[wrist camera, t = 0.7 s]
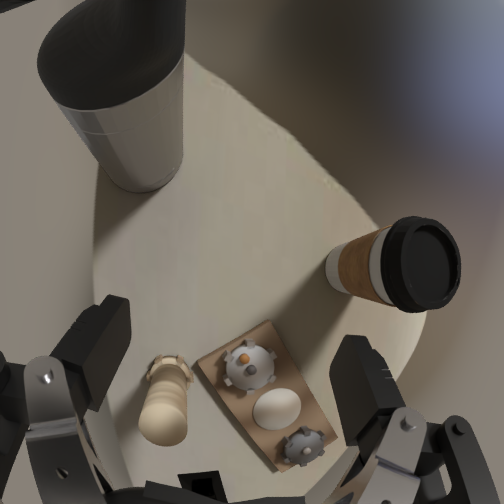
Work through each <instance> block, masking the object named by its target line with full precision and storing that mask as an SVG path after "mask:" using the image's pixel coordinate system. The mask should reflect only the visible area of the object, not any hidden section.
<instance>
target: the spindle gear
mask: <svg viewBox="0 0 504 504" xmlns="http://www.w3.org/2000/svg"><path fill="white" fill-rule="evenodd" d="M154 362H155V363H154V364H153V366H152V369H151V371H148V373H147V381H150V387H149V390H148V393H147V396H146V399H145V402H144V405H143V408H142V412H141V415H140V418H139V423H138V425H139V429H140V432H141V433H142V435H143V436H144V437H145V438H146V439H147V440H148V441H150V442H151V443H153V444H156V445H159V446H174V445H177V444H179V443H180V442H182V441H183V440H184V439H185V437H186V435H187V390H188V388H189V386H190V382H191V383H194V381H193V372H190V370H189V367H188V366H187V364H186V363H185V362H184V358H183V357H181V356H180V355H178V356H177V357H175V356H164V357H163V356H162V355H159V356H157V357H156V358H155V361H154Z"/></svg>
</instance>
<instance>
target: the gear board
mask: <svg viewBox="0 0 504 504" xmlns="http://www.w3.org/2000/svg"><path fill="white" fill-rule="evenodd" d="M197 361H198V364H199V366H200V367H201V369H202V370H203V372H204V373H205V375H206V376H207V378H208V379H209V381H210V382H211V384H212V385H213V387H214V388H215V389H216V391H217V392H218V394H219V395H220V396H221V398H222V399H223V401H224V402H225V403H226V405H227V406H228V407H229V409H230V410H231V412H232V413H233V414H234V416H235V417H236V418H237V419H238V421H239V422H240V423H241V425H242V426H243V427H244V429H245V430H246V431H247V432H248V434H249V435H250V436H251V437H252V439H253V440H254V441H255V442H256V444H257V445H258V446H259V447H260V448H261V450H262V451H263V452H264V453H265V454H266V456H267V457H268V458H269V459H270V460H271V461H272V463H273V464H274V465H275V466H276V467H277V468H278V470H279V471H280V472H281V473H283V472H284V471H286V470H288V469H290V468H291V467H293V466H295V465H297V464H299V465H300V466H301V467H303V466H307V463H308V462H310V461H312V460H314V459H315V458H317V457H318V456H322V455H323V454H324V453H325V451H324V450H323V448H324V447H325V446H327V445H328V444H330V443H331V442H333V441H334V440H336V439H337V438H338V436H337V435H336V433H335V431H334V430H333V428H332V426H331V425H330V423H329V421H328V420H327V418H326V416H325V415H324V413H323V411H322V410H321V408H320V406H319V404H318V403H317V401H316V399H315V398H314V396H313V394H312V393H311V391H310V389H309V387H308V386H307V384H306V382H305V381H304V379H303V377H302V375H301V374H300V372H299V370H298V368H297V367H296V365H295V363H294V362H293V360H292V358H291V356H290V355H289V353H288V351H287V349H286V348H285V346H284V344H283V342H282V341H281V339H280V337H279V335H278V334H277V332H276V330H275V328H274V327H273V325H272V323H271V321H269V320H268V319H267V320H266V321H264V322H262V323H261V324H259V325H257V326H256V327H254V328H252V329H251V330H249V331H247V332H246V333H244V334H242V335H241V336H239V337H237V338H236V339H234V340H232V341H230V342H229V343H227V344H225V345H223V346H222V347H220V348H218V349H216V350H215V351H213V352H211V353H209V354H207V355H206V356H204V357H202V358H200V359H198V360H197Z"/></svg>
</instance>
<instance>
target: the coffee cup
mask: <svg viewBox="0 0 504 504" xmlns="http://www.w3.org/2000/svg"><path fill="white" fill-rule="evenodd" d="M325 272H326V277H327V279H328V281H329V283H330V285H331V286H332V287H333V288H335V289H336V290H338V291H340V292H343V293H347V294H351V295H354V296H357V297H361V298H364V299H367V300H371V301H374V302H378V303H381V304H384V305H388V306H392V307H397V308H398V309H400V310H402V311H404V312H407V313H419V312H424V311H426V310H432V309H439V308H442V307H444V306H445V305H446V304H448V303H449V302H450V300H451V299H452V298H453V296H454V295H455V293H456V291H457V289H458V287H459V284H460V277H461V258H460V253H459V249H458V246H457V244H456V242H455V240H454V238H453V236H452V235H451V234H450V232H449V231H448V230H447V229H446V228H445V227H444V226H443V225H442V224H441V223H439V222H438V221H436V220H433V219H430V218H422V217H417V216H411V217H405V218H402V219H400V220H398V221H397V222H396V223H395V224H393V225H389V226H386V227H384V228H382V229H379V230H377V231H374V232H372V233H369V234H367V235H364V236H362V237H360V238H357V239H355V240H353V241H350V242H347V243H344V244H342V245H339V246H337V247H335V248H334V249H333V250H332V251H331V252H330V254H329V255H328V257H327V260H326V265H325Z"/></svg>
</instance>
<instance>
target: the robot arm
mask: <svg viewBox="0 0 504 504" xmlns="http://www.w3.org/2000/svg"><path fill="white" fill-rule="evenodd" d="M32 1H35V0H0V13H4V12H6V11H9V10H11V9H14V8H17V7H19V6H22V5H24V4H27V3H29V2H32ZM185 12H186V0H85V1H84V2H82V3H80V4H79V5H77V6H76V7H74V8H73V9H72V10H70V11H69V12H68V13H67V14H65V15H64V16H63V17H62V18H61V19H60V20H59V21H58V22H57V23H56V24H55V25H54V26H53V27H52V29H51V30H50V31H49V33H48V34H47V35H46V37H45V39H44V41H43V43H42V45H41V47H40V50H39V53H38V58H37V68H38V73H39V76H40V78H41V80H42V82H43V84H44V86H45V87H46V89H47V90H48V92H49V93H50V95H51V96H52V98H53V99H54V101H55V102H56V104H57V105H58V107H59V108H60V110H61V111H62V113H63V114H64V115H65V117H66V118H67V120H68V121H69V122H70V124H71V125H72V127H73V128H74V129H75V131H76V132H77V134H78V135H79V136H80V138H81V139H82V141H83V142H84V143H85V145H86V146H87V147H88V149H89V150H90V152H91V153H92V154H93V155H94V157H95V158H96V159H97V161H98V162H99V164H100V165H101V166H102V168H103V169H104V170H105V172H106V173H107V174H108V175H109V177H110V178H111V179H112V180H113V182H114V183H115V184H116V185H118V186H119V187H120V188H122V189H124V190H126V191H130V192H134V193H144V192H150V191H153V190H156V189H158V188H160V187H162V186H163V185H165V184H166V183H168V182H169V181H170V180H171V179H172V178H173V177H174V175H175V174H176V173H177V171H178V170H179V167H180V165H181V163H182V158H183V78H184V73H183V71H184V44H185V43H184V42H185ZM130 341H131V319H130V303H129V300H128V299H126V298H122V297H118V296H114V295H110V294H109V295H107V296H106V298H105V299H104V300H103V302H102V303H101V304H100V306H98V305H95V304H94V305H92V306H91V307H89V308H87V309H86V310H84V311H83V312H82V313H81V314H80V316H79V317H78V318H77V319H76V322H74V323H73V325H72V326H71V328H70V329H69V330H68V331H67V332H66V334H65V335H64V336H63V338H62V339H61V340H60V342H59V343H58V344H57V346H56V347H55V348H54V350H53V351H52V353H51V354H50V355H49V356H40V357H36V358H34V359H33V360H31V361H30V362H29V363H28V364H27V365H21V364H15V363H9V362H6V360H5V357H4V355H3V353H2V352H1V351H0V504H3V502H2V500H1V499H2V496H3V492H4V489H5V486H6V483H7V480H8V477H9V474H10V472H11V469H12V466H13V464H14V461H15V459H16V456H17V454H18V451H19V449H20V446H21V444H22V441H23V439H24V437H25V438H26V445H27V449H28V454H29V458H30V462H31V466H32V470H33V474H34V477H35V481H36V484H37V487H38V490H39V494H40V496H41V499H42V502H43V504H305V497H304V496H301V497H265V498H260V499H254V500H248V501H241V502H234V503H223V502H220V501H217V500H214V499H211V498H208V497H205V496H202V495H200V494H197V493H194V492H192V491H189V490H187V489H183V488H178V487H173V486H168V485H164V484H159V483H155V482H151V481H147V480H146V484H145V487H131V488H123V489H119V490H115V489H114V487H113V485H112V483H111V481H110V479H109V477H108V475H107V473H106V471H105V470H104V468H103V466H102V464H101V461H100V459H99V456H98V454H97V452H96V449H95V447H94V444H93V441H92V438H91V436H90V433H89V430H88V427H87V424H86V421H85V418H84V415H85V413H86V411H87V409H90V410H93V411H96V412H98V411H99V408H100V406H101V404H102V402H103V399H104V397H105V395H106V393H107V391H108V389H109V386H110V384H111V382H112V380H113V378H114V376H115V374H116V372H117V370H118V367H119V365H120V363H121V361H122V359H123V357H124V355H125V353H126V351H127V349H128V347H129V344H130ZM388 369H389V368H388V366H387V364H386V362H385V360H384V358H383V357H382V356H381V355H380V354H379V353H378V352H377V351H376V350H375V349H372V347H371V345H370V343H369V341H368V339H367V337H366V336H360V335H345V336H344V338H343V340H342V342H341V344H340V346H339V348H338V350H337V353H336V355H335V357H334V359H333V361H332V363H331V366H330V371H329V376H330V381H331V385H332V389H333V393H334V397H335V400H336V404H337V408H338V412H339V417H340V421H341V425H342V429H343V433H344V437H345V442H346V446H357V445H358V446H359V451H358V452H357V453H356V455H355V457H354V458H353V460H352V462H351V464H350V465H349V467H348V469H347V470H346V472H345V474H344V475H343V477H342V479H341V480H340V482H339V483H338V485H337V487H336V488H335V490H334V491H333V492H332V493H331V495H330V496H329V497H328V498H327V499H326V500H325V501H324V502H323V503H322V504H500V501H499V498H498V494H497V491H496V488H495V485H494V482H493V480H492V477H491V474H490V471H489V469H488V466H487V463H486V461H485V458H484V456H483V453H482V451H481V449H480V446H479V444H478V442H477V439H476V437H475V434H474V432H473V430H472V428H471V426H470V424H469V423H468V422H467V420H465V419H464V418H462V417H460V416H456V415H454V416H450V417H449V418H447V420H446V421H445V422H444V423H443V424H435V423H429V422H426V421H425V419H424V417H423V416H422V415H421V413H419V412H418V411H417V410H415V409H413V408H409V407H406V405H405V403H404V401H403V398H402V396H401V394H400V392H399V389H398V387H397V385H396V383H395V381H394V378H392V374H391V372H390V370H388ZM29 426H30V430H28V428H29ZM444 464H446V467H447V471H448V474H449V477H450V480H451V484H452V488H451V491H450V493H449V494H448V495H446V491H445V488H444V485H443V481H442V478H441V474H440V471H439V468H440V467H441V466H442V465H444Z"/></svg>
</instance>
